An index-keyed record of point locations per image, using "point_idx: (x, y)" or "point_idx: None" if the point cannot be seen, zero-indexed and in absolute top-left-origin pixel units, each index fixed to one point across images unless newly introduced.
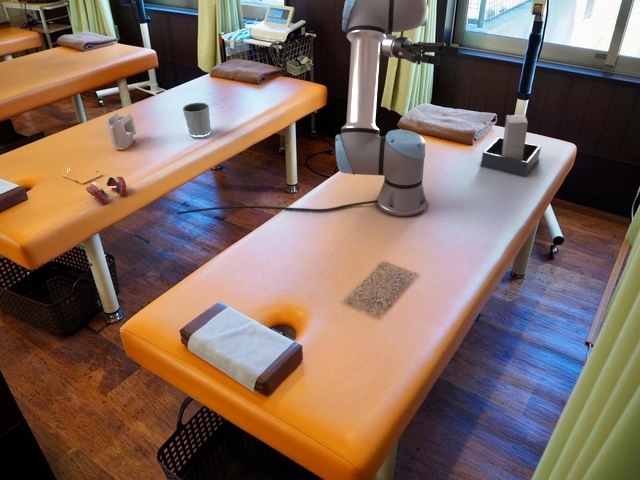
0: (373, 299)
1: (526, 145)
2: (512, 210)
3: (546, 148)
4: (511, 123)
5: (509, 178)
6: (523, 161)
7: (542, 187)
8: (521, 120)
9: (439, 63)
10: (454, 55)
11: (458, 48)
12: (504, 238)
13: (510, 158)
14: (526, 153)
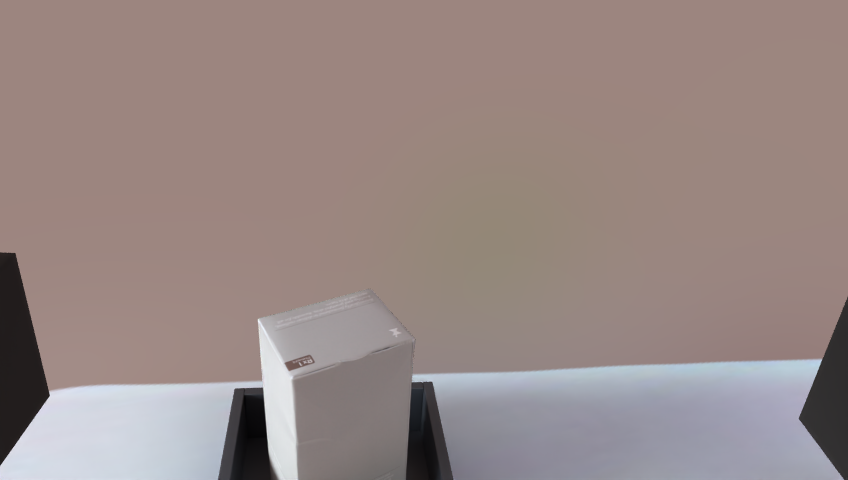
0: None
1: (238, 438)
2: (672, 394)
3: (93, 447)
4: (408, 332)
5: (481, 465)
6: (433, 393)
7: (463, 377)
8: (352, 309)
9: (809, 395)
10: (6, 454)
11: (8, 263)
12: (810, 369)
13: (441, 433)
14: (241, 463)
